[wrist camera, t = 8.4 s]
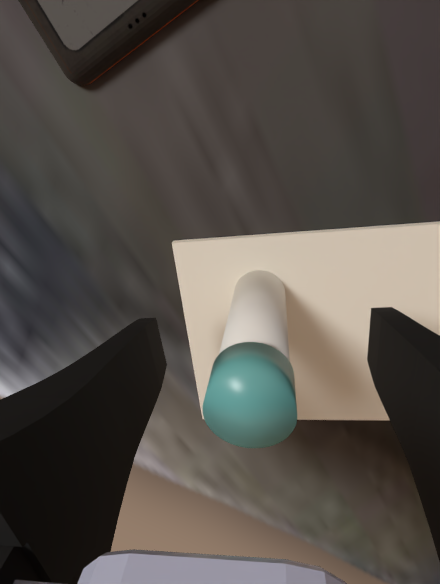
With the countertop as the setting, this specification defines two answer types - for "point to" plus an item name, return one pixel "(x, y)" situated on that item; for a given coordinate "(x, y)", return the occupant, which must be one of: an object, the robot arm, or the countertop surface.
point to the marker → (253, 368)
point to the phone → (98, 30)
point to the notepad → (316, 303)
